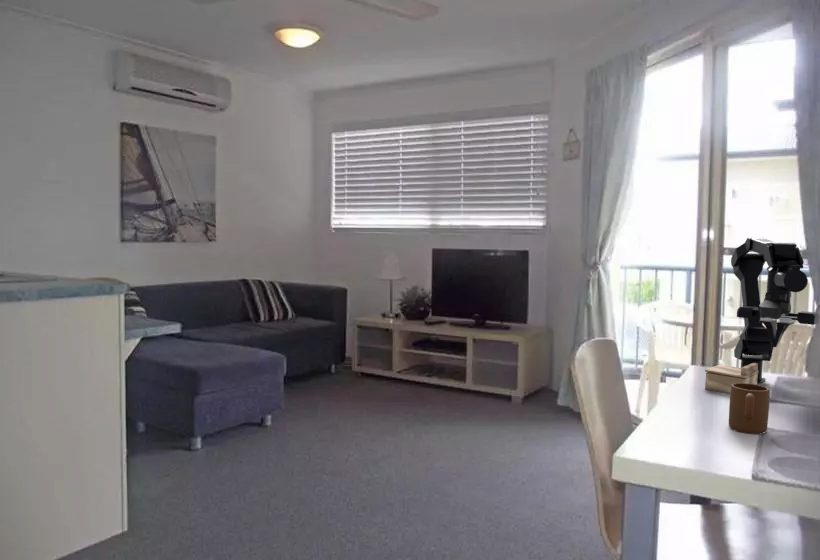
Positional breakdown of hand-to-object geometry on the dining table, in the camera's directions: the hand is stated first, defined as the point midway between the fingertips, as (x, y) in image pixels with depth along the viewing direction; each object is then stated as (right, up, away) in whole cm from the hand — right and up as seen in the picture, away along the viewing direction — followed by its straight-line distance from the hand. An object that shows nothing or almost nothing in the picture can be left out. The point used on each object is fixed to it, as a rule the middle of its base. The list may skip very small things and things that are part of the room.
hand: (774, 347), depth 181 cm
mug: (-26, -15, -37) cm, 47 cm away
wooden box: (-10, -12, +4) cm, 16 cm away
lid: (-10, -7, +3) cm, 13 cm away
